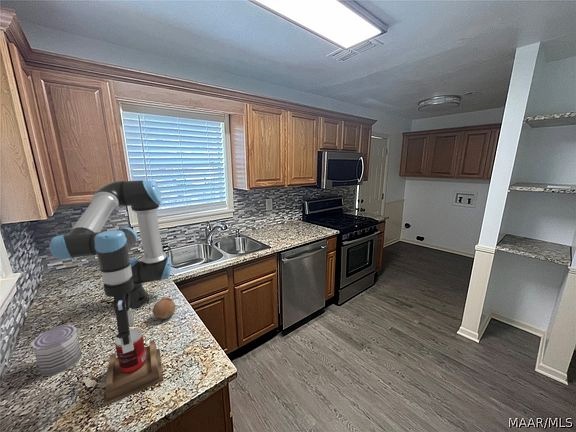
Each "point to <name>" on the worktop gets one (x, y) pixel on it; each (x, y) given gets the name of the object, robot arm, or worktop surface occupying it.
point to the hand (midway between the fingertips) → (129, 337)
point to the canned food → (131, 353)
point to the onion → (164, 308)
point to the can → (57, 349)
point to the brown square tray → (132, 376)
